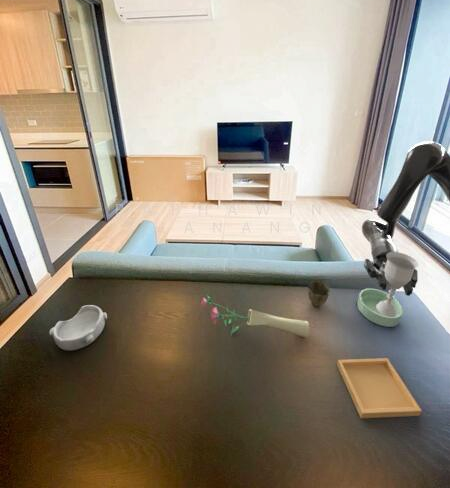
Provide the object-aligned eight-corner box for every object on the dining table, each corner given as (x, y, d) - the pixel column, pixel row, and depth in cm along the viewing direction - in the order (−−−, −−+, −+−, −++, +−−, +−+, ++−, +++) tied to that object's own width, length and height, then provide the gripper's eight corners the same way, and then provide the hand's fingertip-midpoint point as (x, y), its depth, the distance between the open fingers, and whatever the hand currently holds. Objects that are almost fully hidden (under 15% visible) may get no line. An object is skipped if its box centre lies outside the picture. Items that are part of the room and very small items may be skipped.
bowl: (383, 297, 94) (386, 287, 93) (408, 327, 82) (412, 317, 80) (350, 297, 94) (352, 288, 92) (370, 328, 82) (373, 318, 80)
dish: (46, 345, 76) (41, 334, 74) (82, 310, 88) (79, 299, 86) (83, 359, 72) (79, 348, 70) (115, 320, 84) (113, 310, 82)
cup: (301, 304, 91) (304, 287, 88) (311, 293, 96) (314, 277, 93) (321, 316, 86) (324, 298, 83) (329, 304, 91) (333, 287, 88)
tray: (385, 362, 71) (387, 358, 70) (419, 415, 59) (421, 410, 59) (336, 364, 71) (337, 359, 70) (360, 418, 59) (362, 413, 58)
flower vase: (298, 359, 79) (193, 337, 78) (294, 320, 89) (200, 300, 88) (313, 347, 72) (197, 322, 71) (307, 306, 81) (205, 283, 80)
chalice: (376, 316, 70) (391, 265, 63) (369, 298, 76) (382, 250, 69) (405, 322, 68) (424, 270, 62) (395, 303, 74) (411, 254, 68)
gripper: (363, 240, 82) (369, 272, 67) (414, 249, 77) (433, 286, 62) (358, 258, 85) (364, 293, 70) (407, 269, 79) (424, 308, 65)
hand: (396, 290), depth 66 cm, fingers closed on chalice, 5 cm apart
